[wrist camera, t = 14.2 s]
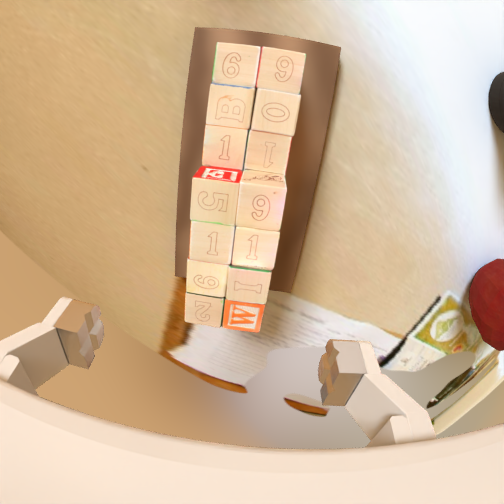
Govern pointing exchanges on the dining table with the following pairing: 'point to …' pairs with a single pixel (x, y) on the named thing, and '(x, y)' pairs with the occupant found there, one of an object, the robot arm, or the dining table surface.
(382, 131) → the dining table surface
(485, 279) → the apple
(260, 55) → the stack of blocks
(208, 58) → the walnut board
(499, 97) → the pen holder
